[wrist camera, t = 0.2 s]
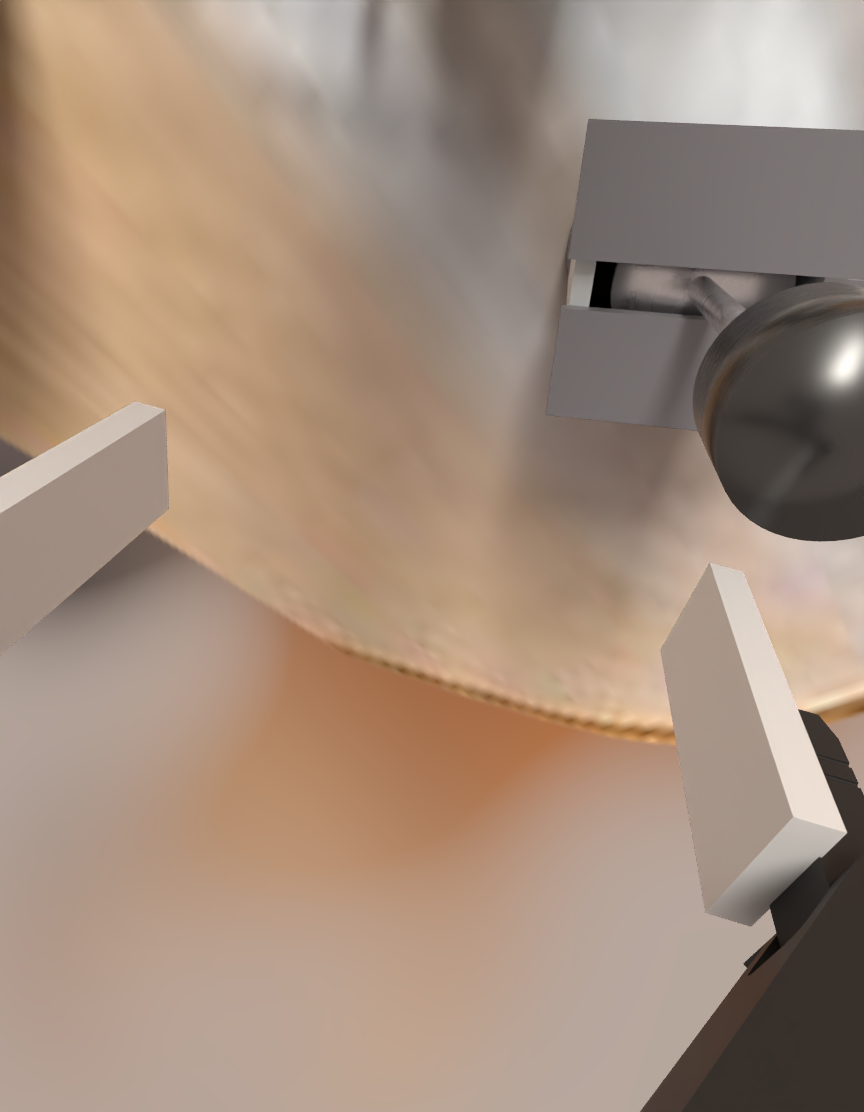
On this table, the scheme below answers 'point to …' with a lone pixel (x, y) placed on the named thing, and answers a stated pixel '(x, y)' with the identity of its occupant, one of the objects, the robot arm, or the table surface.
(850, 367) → the plunger
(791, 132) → the grey french press
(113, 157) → the table surface
